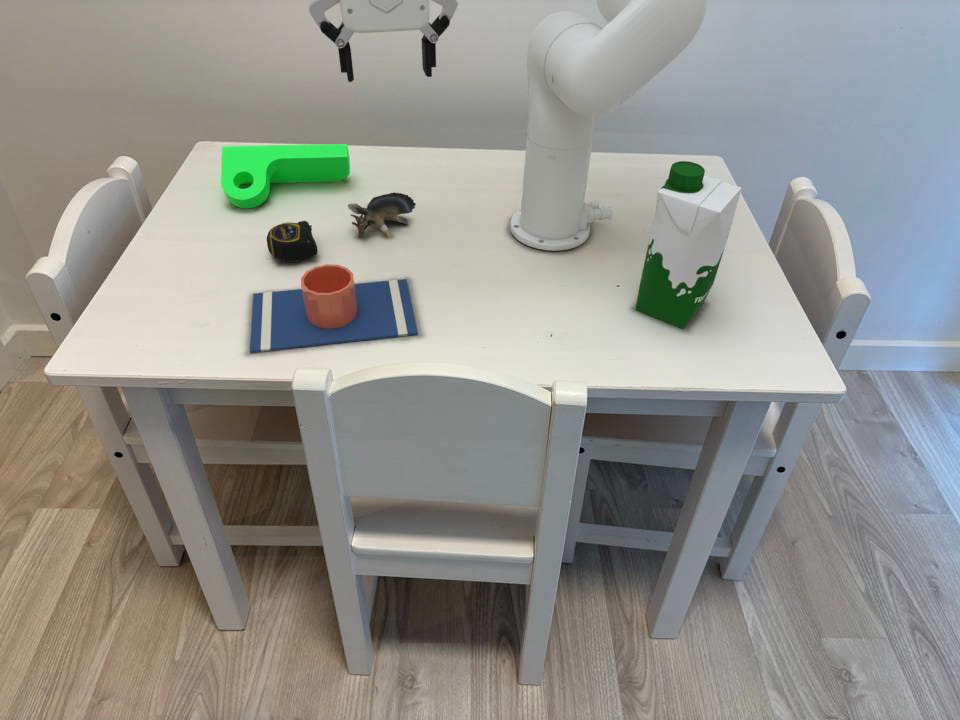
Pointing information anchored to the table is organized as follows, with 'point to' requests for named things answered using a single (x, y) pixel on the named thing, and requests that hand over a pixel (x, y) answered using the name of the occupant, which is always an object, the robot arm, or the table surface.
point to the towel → (288, 327)
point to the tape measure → (291, 241)
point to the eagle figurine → (382, 211)
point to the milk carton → (685, 243)
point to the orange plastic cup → (329, 296)
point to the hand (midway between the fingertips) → (389, 75)
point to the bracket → (278, 168)
